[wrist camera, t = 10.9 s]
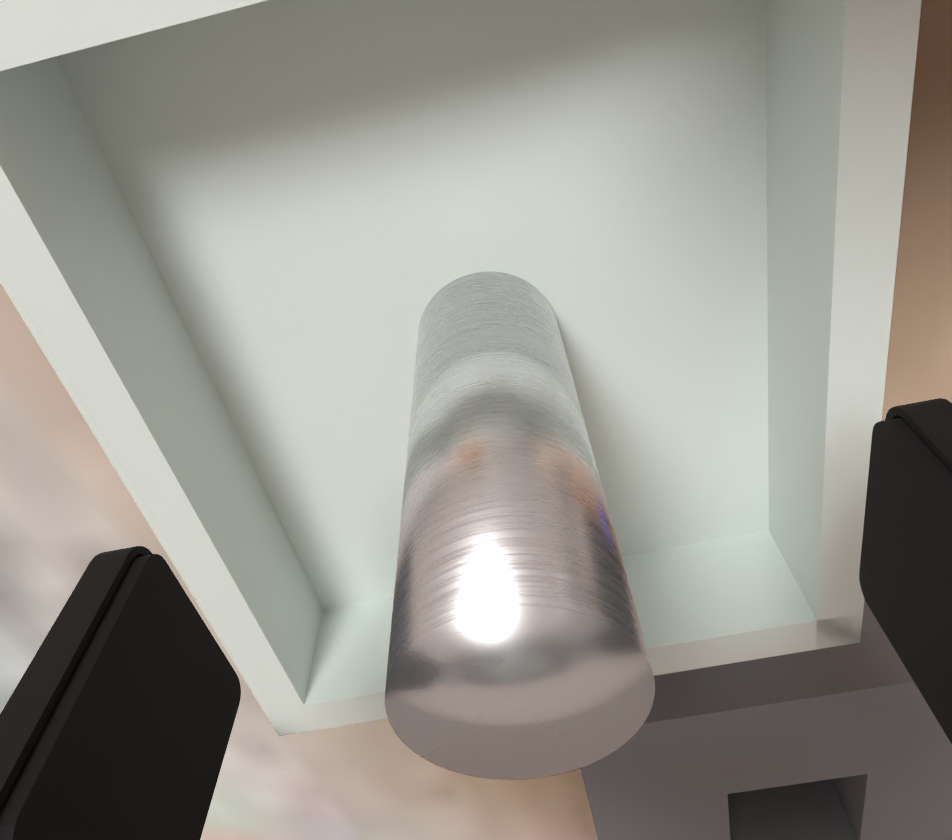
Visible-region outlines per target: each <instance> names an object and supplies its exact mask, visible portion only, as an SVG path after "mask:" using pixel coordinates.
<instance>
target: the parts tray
mask: <svg viewBox="0 0 952 840" xmlns="http://www.w3.org/2000/svg"><path fill="white" fill-rule="evenodd" d="M921 2H922V0H0V283H1V284H2V286H3V288H4V289H5V291H6V292H7V294H8V296H9V297H10V299H11V301H12V302H13V304H14V305H15V307H16V309H17V310H18V312H19V314H20V315H21V317H22V318H23V320H24V322H25V323H26V325H27V327H28V328H29V330H30V331H31V333H32V335H33V336H34V338H35V340H36V341H37V343H38V345H39V346H40V348H41V349H42V351H43V353H44V354H45V356H46V358H47V359H48V361H49V362H50V364H51V366H52V367H53V369H54V371H55V372H56V374H57V375H58V377H59V379H60V380H61V382H62V384H63V385H64V387H65V388H66V390H67V392H68V393H69V395H70V397H71V398H72V400H73V401H74V403H75V405H76V406H77V408H78V410H79V411H80V413H81V414H82V416H83V418H84V419H85V421H86V423H87V424H88V426H89V427H90V429H91V431H92V432H93V434H94V436H95V437H96V439H97V440H98V442H99V444H100V445H101V447H102V449H103V450H104V452H105V454H106V455H107V457H108V458H109V460H110V462H111V463H112V465H113V467H114V468H115V470H116V471H117V473H118V475H119V476H120V478H121V480H122V481H123V483H124V484H125V486H126V488H127V489H128V491H129V493H130V494H131V496H132V497H133V499H134V501H135V502H136V504H137V506H138V507H139V509H140V510H141V512H142V514H143V515H144V517H145V519H146V520H147V522H148V523H149V525H150V527H151V528H152V530H153V532H154V533H155V535H156V536H157V538H158V540H159V541H160V543H161V545H162V546H163V548H164V550H165V551H166V553H167V554H168V556H169V558H170V559H171V561H172V563H173V564H174V566H175V567H176V569H177V571H178V572H179V574H180V576H181V577H182V579H183V580H184V582H185V584H186V585H187V587H188V589H189V590H190V592H191V593H192V595H193V597H194V598H195V600H196V602H197V603H198V605H199V606H200V608H201V610H202V611H203V613H204V615H205V616H206V618H207V619H208V621H209V623H210V624H211V626H212V628H213V629H214V631H215V632H216V634H217V636H218V637H219V639H220V641H221V642H222V644H223V645H224V647H225V649H226V650H227V652H228V654H229V655H230V657H231V659H232V660H233V662H234V663H235V665H236V667H237V668H238V670H239V672H240V673H241V675H242V676H243V678H244V680H245V681H246V683H247V685H248V686H249V688H250V689H251V691H252V693H253V694H254V696H255V698H256V699H257V701H258V702H259V704H260V706H261V707H262V709H263V711H264V712H265V714H266V715H267V717H268V719H269V720H270V722H271V724H272V725H273V727H274V728H275V730H276V732H277V733H278V735H279V736H283V735H290V734H296V733H302V732H308V731H314V730H321V729H327V728H333V727H339V726H345V725H352V724H358V723H364V722H370V721H376V720H383V719H388V717H387V714H386V709H385V702H384V701H385V687H386V676H387V665H388V654H389V643H390V633H391V622H392V611H393V600H394V589H395V578H396V568H397V557H398V546H399V535H400V524H401V513H402V502H403V492H404V481H405V470H406V459H407V448H408V437H409V427H410V416H411V405H412V394H413V383H414V372H415V361H416V351H417V340H418V329H419V324H420V319H421V317H422V314H423V311H424V310H425V308H426V306H427V304H428V303H429V301H430V300H431V299H432V297H433V296H434V295H435V294H436V293H437V292H438V291H439V290H440V289H442V288H443V287H444V286H445V285H447V284H448V283H450V282H452V281H453V280H455V279H458V278H460V277H462V276H465V275H469V274H472V273H478V272H491V271H492V272H502V273H507V274H511V275H514V276H517V277H520V278H522V279H524V280H525V281H527V282H529V283H530V284H532V285H533V286H535V287H536V288H537V289H538V290H539V291H540V292H541V293H542V294H543V295H544V296H545V297H546V298H547V300H548V301H549V303H550V305H551V306H552V308H553V310H554V313H555V315H556V319H557V323H558V326H559V330H560V334H561V337H562V341H563V345H564V348H565V352H566V356H567V359H568V363H569V367H570V370H571V374H572V378H573V381H574V385H575V389H576V392H577V396H578V400H579V403H580V407H581V411H582V414H583V418H584V422H585V425H586V429H587V433H588V436H589V440H590V444H591V447H592V451H593V455H594V458H595V462H596V466H597V469H598V473H599V477H600V480H601V484H602V488H603V491H604V495H605V499H606V503H607V506H608V510H609V514H610V517H611V521H612V525H613V528H614V532H615V536H616V539H617V543H618V547H619V550H620V554H621V558H622V561H623V565H624V569H625V572H626V576H627V580H628V583H629V587H630V591H631V594H632V598H633V602H634V605H635V609H636V613H637V616H638V620H639V624H640V627H641V631H642V635H643V638H644V642H645V646H646V649H647V653H648V657H649V660H650V664H651V668H652V672H653V676H656V675H662V674H668V673H674V672H680V671H687V670H693V669H699V668H705V667H711V666H718V665H724V664H730V663H736V662H742V661H749V660H755V659H761V658H767V657H773V656H780V655H786V654H792V653H798V652H804V651H811V650H817V649H823V648H829V647H835V646H842V645H848V644H854V643H860V641H861V630H862V620H863V609H864V596H863V593H862V590H861V586H860V580H859V570H860V559H861V548H862V538H863V527H864V516H865V505H866V494H867V483H868V473H869V462H870V451H871V440H872V431H873V427H874V425H875V423H877V422H880V421H882V410H883V400H884V389H885V379H886V368H887V358H888V347H889V337H890V326H891V316H892V305H893V295H894V284H895V274H896V264H897V253H898V243H899V232H900V222H901V211H902V201H903V190H904V180H905V169H906V159H907V148H908V138H909V127H910V117H911V106H912V96H913V86H914V75H915V65H916V54H917V44H918V33H919V23H920V12H921Z"/></svg>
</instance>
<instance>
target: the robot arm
mask: <svg viewBox="0 0 952 840" xmlns="http://www.w3.org/2000/svg"><path fill="white" fill-rule="evenodd" d="M859 580H860V586H861V590H862V593H863V596H864V599H865V601H866V603H867V605H868V606H869V608H870V610H871V611H872V613H873V615H874V616H875V618H876V620H877V621H878V623H879V625H880V626H881V628H882V630H883V631H884V633H885V634H886V636H887V638H888V639H889V641H890V643H891V644H892V646H893V648H894V649H895V651H896V653H897V654H898V656H899V658H900V659H901V661H902V663H903V664H904V666H905V668H906V669H907V671H908V673H909V674H910V676H911V678H912V679H913V681H914V683H915V684H916V686H917V688H918V689H919V691H920V693H921V694H922V696H923V697H924V699H925V701H926V702H927V704H928V706H929V707H930V709H931V711H932V712H933V714H934V716H935V717H936V719H937V721H938V722H939V724H940V726H941V727H942V729H943V731H944V732H945V734H946V736H947V737H948V739H949V741H950V742H951V744H952V403H951V402H949V401H948V400H946V399H941V398H939V399H934V400H928V401H923V402H918V403H912V404H907V405H901V406H896V407H893V408H891V409H890V410H889V411H888V413H887V415H886V419H885V421H880V422H877V423H875V425H874V427H873V431H872V440H871V451H870V462H869V473H868V483H867V494H866V505H865V516H864V527H863V538H862V548H861V559H860V570H859ZM240 695H241V689H240V682H239V679H238V676H237V674H236V673H235V671H234V669H233V668H232V666H231V665H230V663H229V661H228V660H227V658H226V657H225V655H224V653H223V652H222V650H221V649H220V647H219V645H218V644H217V642H216V641H215V639H214V638H213V636H212V634H211V633H210V631H209V630H208V628H207V626H206V625H205V623H204V622H203V620H202V618H201V617H200V615H199V614H198V612H197V610H196V609H195V607H194V606H193V604H192V602H191V601H190V599H189V598H188V596H187V595H186V593H185V591H184V590H183V588H182V587H181V585H180V583H179V582H178V580H177V579H176V577H175V575H174V574H173V572H172V571H171V569H170V567H169V566H168V564H167V563H166V561H165V560H164V559H163V557H162V556H160V555H158V554H152V553H151V552H150V551H149V549H147V548H145V547H143V546H136V547H131V548H126V549H120V550H115V551H109V552H104V553H100V554H98V555H96V556H95V557H94V558H93V559H92V561H91V562H90V564H89V565H88V567H87V569H86V570H85V572H84V574H83V575H82V577H81V579H80V581H79V582H78V584H77V586H76V587H75V589H74V591H73V592H72V594H71V596H70V597H69V599H68V601H67V603H66V604H65V606H64V608H63V609H62V611H61V613H60V614H59V616H58V618H57V619H56V621H55V623H54V624H53V626H52V628H51V630H50V631H49V633H48V635H47V636H46V638H45V640H44V641H43V643H42V645H41V646H40V648H39V650H38V652H37V653H36V655H35V657H34V658H33V660H32V662H31V663H30V665H29V667H28V668H27V670H26V672H25V674H24V675H23V677H22V679H21V680H20V682H19V684H18V685H17V687H16V689H15V690H14V692H13V694H12V696H11V697H10V699H9V701H8V702H7V704H6V706H5V707H4V709H3V711H2V712H1V714H0V840H200V838H201V834H202V831H203V827H204V824H205V820H206V817H207V813H208V810H209V806H210V803H211V800H212V796H213V793H214V789H215V786H216V782H217V779H218V775H219V772H220V769H221V765H222V762H223V758H224V755H225V751H226V748H227V744H228V741H229V737H230V734H231V731H232V727H233V724H234V720H235V717H236V713H237V710H238V706H239V702H240Z"/></svg>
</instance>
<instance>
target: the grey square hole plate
mask: <svg viewBox="0 0 952 840" xmlns="http://www.w3.org/2000/svg"><path fill="white" fill-rule="evenodd" d="M654 680H655V696H654V701H653V705H652V708H651V710H650V713H649V715H648V717H647V718H646V720H645V722H644V724H643V725H642V726H641V727H640V729H639V730H638V731H637V732H636V734H635V735H634V736H633V737H631V738H630V739H629V740H628V741H627V742H626V743H625V744H624V745H622V746H621V747H620V748H618V749H617V750H615V751H614V752H612V753H611V754H609V755H607V756H606V757H604V758H602V759H600V760H598V761H596V762H594V763H592V764H589V765H587V766H584V767H581V771H582V775H583V779H584V783H585V787H586V791H587V795H588V799H589V803H590V807H591V811H592V815H593V819H594V823H595V827H596V831H597V835H598V839H599V840H952V744H951V742H950V741H949V739H948V737H947V736H946V734H945V732H944V731H943V729H942V727H941V726H940V724H939V722H938V721H937V719H936V717H935V716H934V714H933V712H932V711H931V709H930V707H929V706H928V704H927V702H926V701H925V699H924V697H923V696H922V694H921V693H920V691H919V689H918V688H917V686H916V684H915V683H914V681H913V679H912V678H911V676H910V674H909V673H908V671H907V669H906V668H905V666H904V664H903V663H902V661H901V659H900V658H899V656H898V654H897V653H896V651H895V649H894V648H893V646H892V644H891V643H890V641H889V639H888V638H887V636H886V634H885V633H884V631H883V630H882V628H881V626H880V625H879V623H878V621H877V620H876V618H875V616H874V615H873V613H872V611H871V610H870V608H869V606H868V605H867V603H866V601H865V599H864V609H863V620H862V630H861V641H860V643H854V644H848V645H842V646H835V647H829V648H823V649H817V650H811V651H804V652H798V653H792V654H786V655H780V656H773V657H767V658H761V659H755V660H749V661H742V662H736V663H730V664H724V665H718V666H711V667H705V668H699V669H693V670H687V671H680V672H674V673H668V674H662V675H656V676H654Z"/></svg>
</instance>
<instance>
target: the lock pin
mask: <svg viewBox="0 0 952 840" xmlns="http://www.w3.org/2000/svg"><path fill="white" fill-rule="evenodd" d="M654 696H655V680H654V676H653V672H652V668H651V664H650V660H649V657H648V653H647V649H646V646H645V642H644V638H643V635H642V631H641V627H640V624H639V620H638V616H637V613H636V609H635V605H634V602H633V598H632V594H631V591H630V587H629V583H628V580H627V576H626V572H625V569H624V565H623V561H622V558H621V554H620V550H619V547H618V543H617V539H616V536H615V532H614V528H613V525H612V521H611V517H610V514H609V510H608V506H607V503H606V499H605V495H604V491H603V488H602V484H601V480H600V477H599V473H598V469H597V466H596V462H595V458H594V455H593V451H592V447H591V444H590V440H589V436H588V433H587V429H586V425H585V422H584V418H583V414H582V411H581V407H580V403H579V400H578V396H577V392H576V389H575V385H574V381H573V378H572V374H571V370H570V367H569V363H568V359H567V356H566V352H565V348H564V345H563V341H562V337H561V334H560V330H559V326H558V323H557V319H556V315H555V313H554V310H553V308H552V306H551V305H550V303H549V301H548V300H547V298H546V297H545V296H544V295H543V294H542V293H541V292H540V291H539V290H538V289H537V288H536V287H535V286H533V285H532V284H530V283H529V282H527V281H525V280H524V279H522V278H520V277H517V276H514V275H511V274H507V273H502V272H492V271H491V272H478V273H472V274H469V275H465V276H462V277H460V278H458V279H455V280H453V281H452V282H450V283H448V284H447V285H445V286H444V287H443V288H442V289H440V290H439V291H438V292H437V293H436V294H435V295H434V296H433V297H432V299H431V300H430V301H429V303H428V304H427V306H426V308H425V310H424V311H423V314H422V317H421V319H420V324H419V329H418V340H417V351H416V361H415V372H414V383H413V394H412V405H411V416H410V427H409V437H408V448H407V459H406V470H405V481H404V492H403V502H402V513H401V524H400V535H399V546H398V557H397V568H396V578H395V589H394V600H393V611H392V622H391V633H390V643H389V654H388V665H387V676H386V687H385V701H384V702H385V709H386V714H387V717H388V720H389V722H390V725H391V726H392V728H393V730H394V731H395V733H396V734H397V736H398V737H399V738H400V739H401V740H402V742H403V743H404V744H406V745H407V746H408V747H409V748H410V749H411V750H412V751H414V752H415V753H417V754H418V755H420V756H421V757H422V758H424V759H426V760H428V761H430V762H432V763H434V764H435V765H438V766H440V767H443V768H445V769H448V770H451V771H454V772H458V773H461V774H465V775H470V776H475V777H480V778H488V779H501V780H521V779H534V778H543V777H548V776H553V775H558V774H562V773H566V772H569V771H573V770H576V769H579V768H581V767H584V766H587V765H589V764H592V763H594V762H596V761H598V760H600V759H602V758H604V757H606V756H607V755H609V754H611V753H612V752H614V751H615V750H617V749H618V748H620V747H621V746H622V745H624V744H625V743H626V742H627V741H628V740H629V739H630V738H631V737H633V736H634V735H635V734H636V732H637V731H638V730H639V729H640V727H641V726H642V725H643V724H644V722H645V720H646V718H647V717H648V715H649V713H650V710H651V708H652V705H653V701H654Z"/></svg>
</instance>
